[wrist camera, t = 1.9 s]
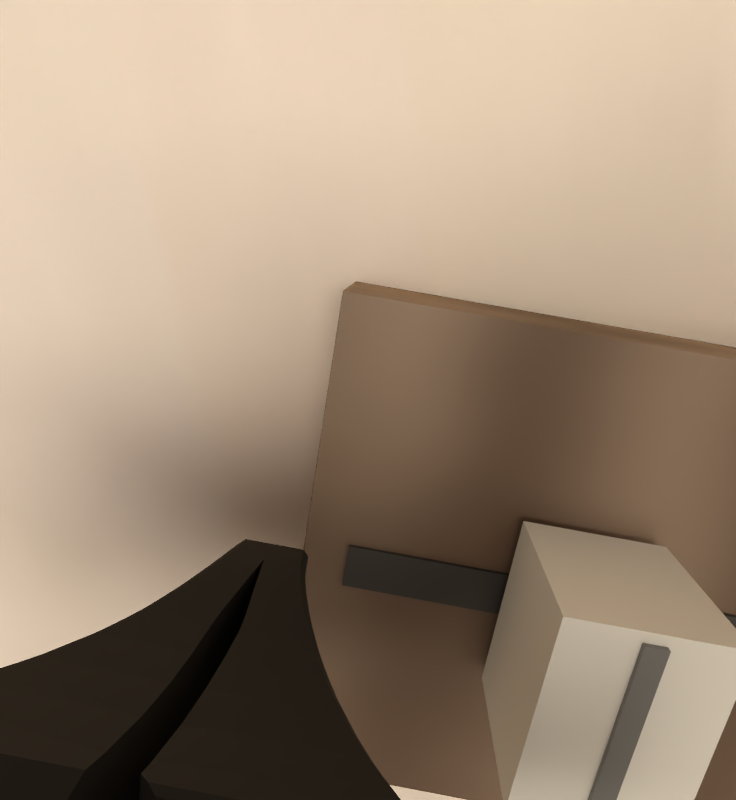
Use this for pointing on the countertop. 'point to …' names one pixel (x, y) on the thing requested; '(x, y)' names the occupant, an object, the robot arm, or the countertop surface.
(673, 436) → the fader console
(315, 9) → the countertop surface
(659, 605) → the fader tab
